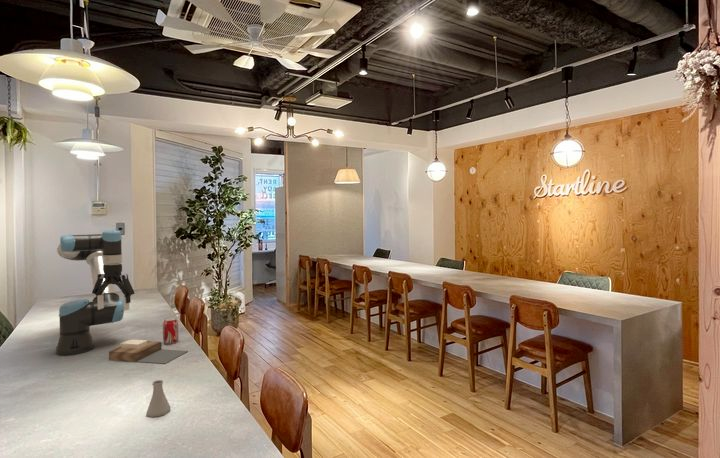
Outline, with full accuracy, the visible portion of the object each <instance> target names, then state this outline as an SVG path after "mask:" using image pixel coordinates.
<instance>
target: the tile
mask: <svg viewBox="0 0 720 458" xmlns="http://www.w3.org/2000/svg"><path fill="white" fill-rule="evenodd" d="M147 341H148V340H145V339H128V340H126V341H122V342H120V343H119V344H120V346H121V348H131V349H139V348H141V347H143V346H146V345H147ZM120 346H119V347H120Z"/></svg>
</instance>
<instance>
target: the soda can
mask: <svg viewBox="0 0 720 458" xmlns="http://www.w3.org/2000/svg"><path fill="white" fill-rule="evenodd" d="M162 339H163V340H162V341H163V343H164V344H165V345H172V344H173V345H174V344H176V343H177V342H179V321H178V319H177V317H167V318H164V320H163V322H162Z"/></svg>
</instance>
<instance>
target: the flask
mask: <svg viewBox="0 0 720 458" xmlns="http://www.w3.org/2000/svg"><path fill="white" fill-rule="evenodd" d="M151 383H152V384H151V385H152V386H153V387H152V388H153V390H152V395H151V399H150V402H149V404H148V407H147V411H146V414H145V415H146V417H150V418H151V417H153V418H156V417H161V416H165V415H166V414H168V413H170V411H171V405H170V403H169V401H168V399H167V397H166V394H165V392H164V388H163V383H164V380H163V379H157V380H153V381H152V382H151Z"/></svg>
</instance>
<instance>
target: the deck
mask: <svg viewBox="0 0 720 458" xmlns="http://www.w3.org/2000/svg"><path fill="white" fill-rule="evenodd" d="M161 349H162V341H155V340H147V345H146V346H143V347H141V348H139V349H131V348H121V346H119V347H116V348H113V349H111V350H108V360H109V361H116V362H130V363H138V362H137V361H138V360H140V359H142V358H145V357H147V356H149V355H151V354H153V353H155V352H157V351H159V350H161Z"/></svg>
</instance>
